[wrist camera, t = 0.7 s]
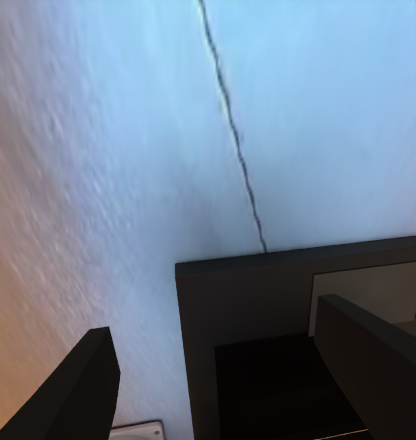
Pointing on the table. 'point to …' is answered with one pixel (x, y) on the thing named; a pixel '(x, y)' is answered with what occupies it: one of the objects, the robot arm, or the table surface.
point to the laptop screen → (354, 436)
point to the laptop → (281, 335)
